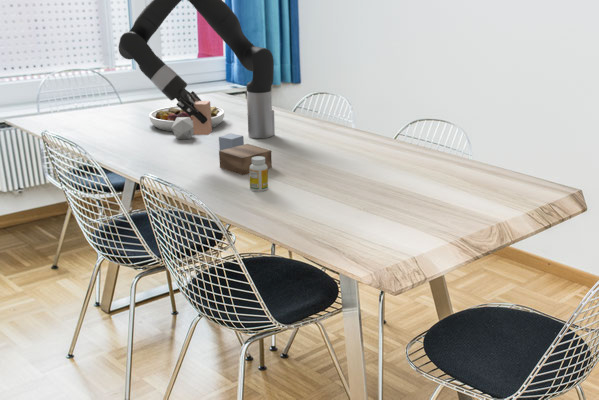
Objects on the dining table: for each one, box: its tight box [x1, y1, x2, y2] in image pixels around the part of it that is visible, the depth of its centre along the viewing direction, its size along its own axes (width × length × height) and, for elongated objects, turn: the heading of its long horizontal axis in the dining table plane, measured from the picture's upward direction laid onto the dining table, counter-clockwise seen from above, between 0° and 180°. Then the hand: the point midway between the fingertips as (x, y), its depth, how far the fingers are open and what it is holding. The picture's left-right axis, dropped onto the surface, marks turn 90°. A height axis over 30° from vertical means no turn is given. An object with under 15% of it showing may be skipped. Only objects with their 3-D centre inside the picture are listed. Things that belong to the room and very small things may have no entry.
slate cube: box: [218, 132, 245, 151], centre depth 248 cm, size 6×6×6 cm
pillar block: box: [193, 100, 213, 136], centre depth 230 cm, size 5×5×10 cm
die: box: [172, 117, 194, 140], centre depth 268 cm, size 8×9×10 cm
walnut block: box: [218, 143, 273, 176], centre depth 231 cm, size 12×12×6 cm
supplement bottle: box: [249, 156, 269, 193], centre depth 210 cm, size 5×5×10 cm
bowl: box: [148, 105, 225, 132], centre depth 289 cm, size 30×30×8 cm
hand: (207, 119), depth 230 cm, fingers closed on pillar block, 4 cm apart
